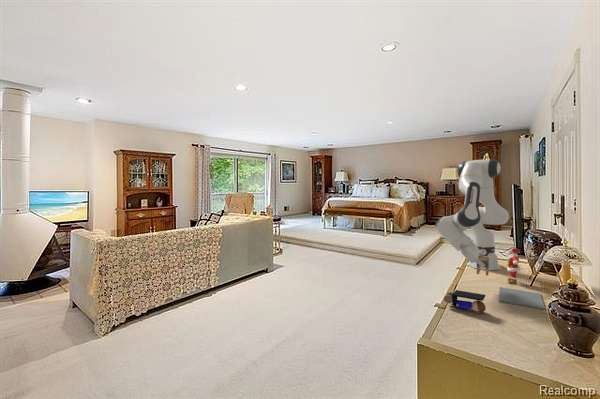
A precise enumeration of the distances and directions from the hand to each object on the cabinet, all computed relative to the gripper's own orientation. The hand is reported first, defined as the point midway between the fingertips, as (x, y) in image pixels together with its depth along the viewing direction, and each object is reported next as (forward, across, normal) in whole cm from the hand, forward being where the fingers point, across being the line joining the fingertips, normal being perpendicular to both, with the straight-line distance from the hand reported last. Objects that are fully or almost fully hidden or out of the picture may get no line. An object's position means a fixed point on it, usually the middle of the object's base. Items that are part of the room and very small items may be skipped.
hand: (484, 264), depth 142 cm
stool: (+3, 0, +4) cm, 5 cm away
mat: (+20, -2, -1) cm, 20 cm away
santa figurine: (+19, +22, +1) cm, 29 cm away
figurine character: (+6, -29, +13) cm, 33 cm away
